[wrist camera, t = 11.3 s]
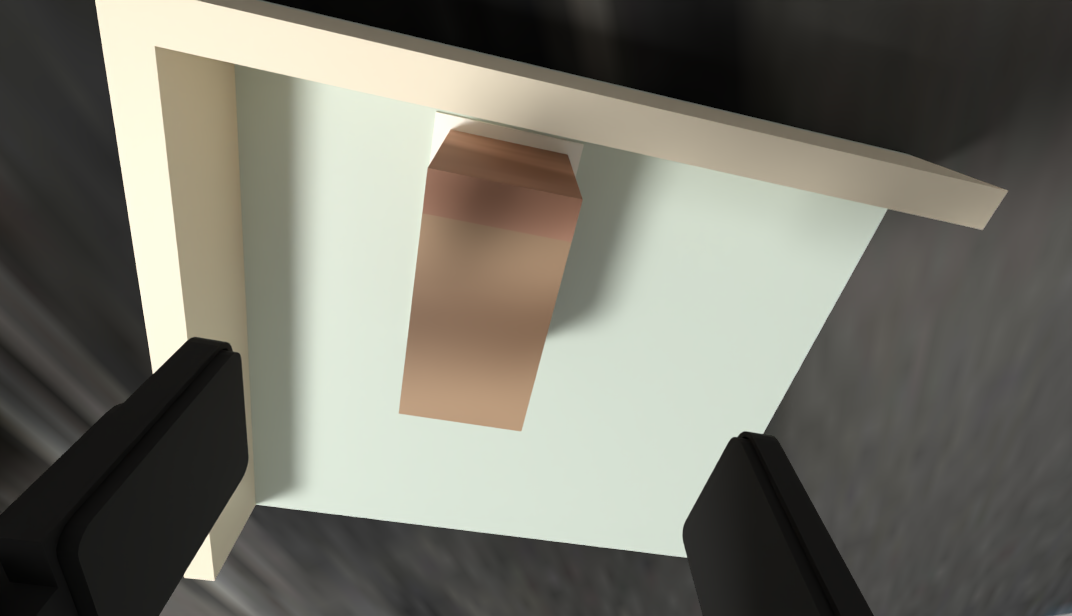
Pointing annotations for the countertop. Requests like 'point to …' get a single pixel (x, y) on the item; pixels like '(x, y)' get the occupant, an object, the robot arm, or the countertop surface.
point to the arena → (391, 254)
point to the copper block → (486, 278)
